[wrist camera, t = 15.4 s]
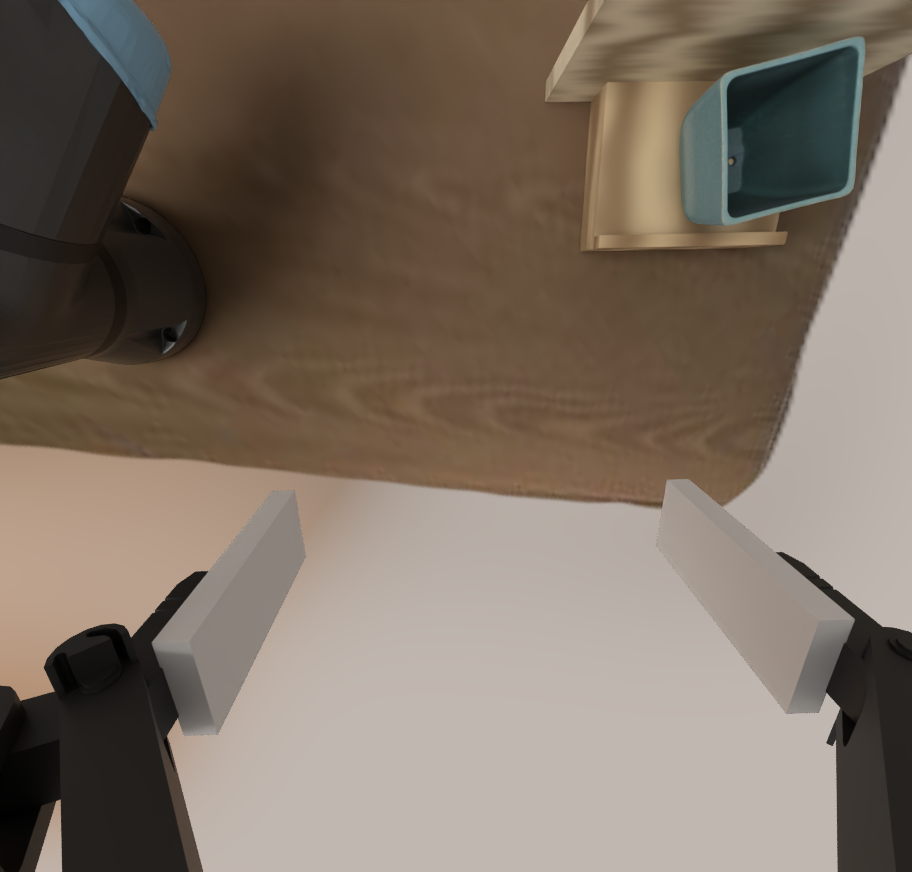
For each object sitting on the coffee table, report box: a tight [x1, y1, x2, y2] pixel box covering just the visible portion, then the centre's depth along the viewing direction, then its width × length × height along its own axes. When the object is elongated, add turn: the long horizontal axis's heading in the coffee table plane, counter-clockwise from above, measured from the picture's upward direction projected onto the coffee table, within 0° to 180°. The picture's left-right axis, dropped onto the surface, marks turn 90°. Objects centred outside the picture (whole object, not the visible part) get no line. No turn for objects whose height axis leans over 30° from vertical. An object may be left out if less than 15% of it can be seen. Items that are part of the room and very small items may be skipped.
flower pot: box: [679, 36, 866, 226], centre depth 32 cm, size 9×9×9 cm
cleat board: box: [545, 0, 912, 251], centre depth 29 cm, size 24×14×22 cm, turn 91°
